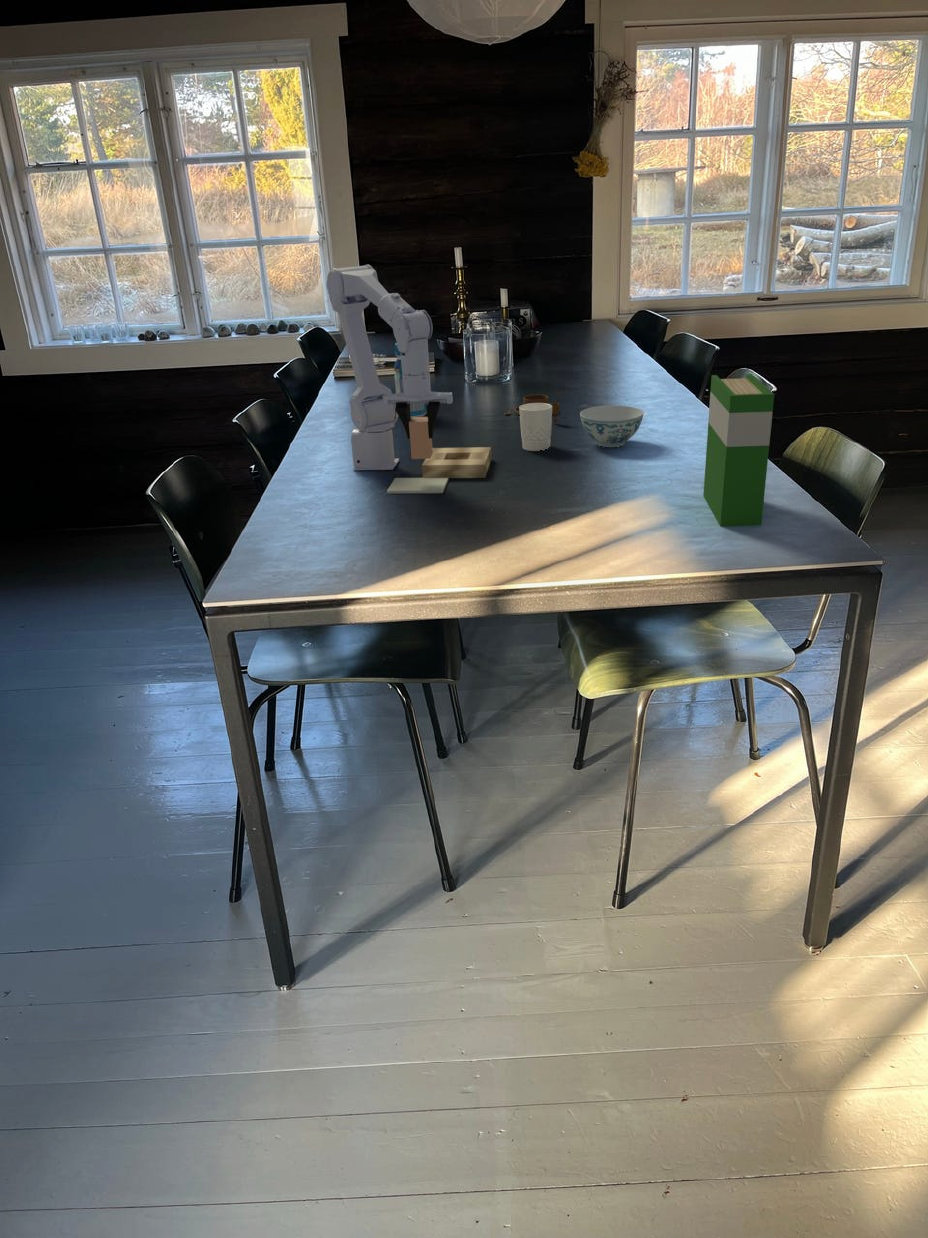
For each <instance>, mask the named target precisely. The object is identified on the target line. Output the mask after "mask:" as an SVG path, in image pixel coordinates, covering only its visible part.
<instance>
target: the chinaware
mask: <svg viewBox="0 0 928 1238" xmlns="http://www.w3.org/2000/svg"><path fill="white" fill-rule="evenodd" d="M644 414H645V412H644V410H642V409H641V408H638V407H635V406H629V405H598V406H593V407H588V408H585V409H583V410H581V411H580V412H579V416H580V417H579V418H580V421H581V425H582V426H583V429H584V430H585V432H586V433H587V435H588V436H589V437H590V438H591V439H592V440H594V441H596V445H597V444H598V445H599V446H598V445H597V446H598V447H600V446H604V447H618V446H622V445H624V444H625V445H626V442H627V441H628V440H630V439H631V438H632V437H633V436H634V435H635V434H636V433H637V432H638V430H639V428H640V426H641V424H642V422H643V420H644V419H643V418H644ZM625 445H624V446H625ZM604 447H603V448H604ZM622 447H623V446H622ZM618 448H619V447H618Z"/></svg>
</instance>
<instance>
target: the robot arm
mask: <svg viewBox="0 0 928 1238" xmlns="http://www.w3.org/2000/svg"><path fill="white" fill-rule="evenodd" d="M325 285H326V289H327V293H328V296H329V297H328V298H329V301H330V305H331V307H332V310H333V311H335V312H336V313H337V315H338V318H339V321H340V325H341V328H342V332H343V337H344V340H345V344H346V348H347V352H348V356H349V361H350V364H351V368H352V371H353V375H354V378H355V382H356V387H357V388H356V390H355V391H354V392H353V393H352V395H351V397H350V398H349V407H350V417H351V421H352V424H353V425H354V427H355V428H354V429H353V430H352V431H351V436H350V437H351V439H350V442H351V443H350V444H351V454H352V462H353V463H352V464H353V468H352V469H353V471H393V470H394V469H395V467H396V466H397V464H398V463H399V461H400V458H395V450H394V436H393V428H395V423H397V421H398V419H400V421H401V423H402V425H403V428H404V431H405V433H406V437H407V439H408V440H410V431H409V421H410V419H411V415H410V404H424V403H425V404H427V405H426V416H427V417H428V425H429V438H432V439H433V438H434V435H435V433H434V432H435V425H436V420H437V417H438V414H439V411H440V408H441V405H442V404H447V405H450V404H451V405H452V404H453V401H454V400H453V399H454V398H453V392H447V391H446V392H444V391H441V392H440V391H432V390H431V389H432V388H431V376H430V375H431V374H430V373H431V372H430V370H431V369H430V358H429V357H430V356H429V343H428V340H429V339H431V338H432V335H433V328H434V327H433V322H432V318H431V316H430V315H429V313H428V312H427V310H425V309H422V310H419V309H416V310H415V308H413V306H411V305H410V304H409V303H408V302H407V301H406V300H404V299H403V298H402V297H401V294H399V293H398V292H392V293H389V292H388V290H387V289H385V287H384V286H383V285H382V284H381V283H380V282H379V278H378V272H377V271H376V270H375V268H373V266H372V265H370V264H365V265H360V266H350V267H349V266H348V267H341V268H335V267H333V268H331V269H329V271H328V273H327V276H326V283H325ZM370 303H372V304H373V305H374V306H376V307H377V312H378V315H379V316H380V318H381V319H383V321H384V322H386V323H387V324H388V325H389V326H390V327H391V329H392V331H393V336H394V339H395V340H396V343H397V347H398V350H399V351H400V352H401V364H402V377H403V390H404V393H396V392H395V393H392V389H390V388H389V387H387V386H385V385H384V384H382V383H381V382H380V378H379V376H378V371H377V367H376V364H375V360H374V356H373V353H372V350H371V344H370V340H369V337H368V334H367V330H366V325H365V321H364V318H363V310H365V308H367V307H368V306H369V305H370Z"/></svg>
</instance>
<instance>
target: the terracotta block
mask: <svg viewBox="0 0 928 1238" xmlns="http://www.w3.org/2000/svg"><path fill="white" fill-rule="evenodd" d="M409 431H410V439H409V440H410V453H411V454H410V455H411V460H418V459H419V460H421V459H422V460H425V459H430V458H431V456H432V454H433V448H434V447H433V438H429V425H428V416H423V417H412V418H411V419H410V421H409Z"/></svg>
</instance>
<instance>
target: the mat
mask: <svg viewBox="0 0 928 1238" xmlns="http://www.w3.org/2000/svg"><path fill="white" fill-rule="evenodd" d="M448 482H449V478H423V477H395V478H393V481H392V482H391V484H390V486H389V487H388V488H387V490H386V492H387V494H443V493H444V491H445V489H446V486H447V484H448Z"/></svg>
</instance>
